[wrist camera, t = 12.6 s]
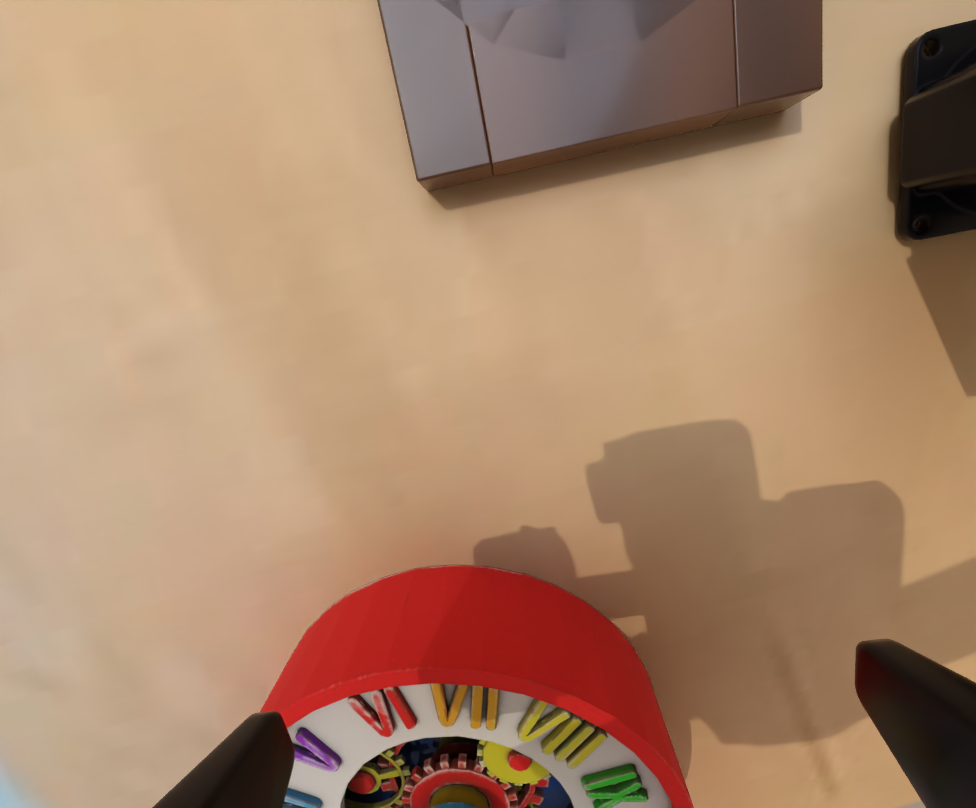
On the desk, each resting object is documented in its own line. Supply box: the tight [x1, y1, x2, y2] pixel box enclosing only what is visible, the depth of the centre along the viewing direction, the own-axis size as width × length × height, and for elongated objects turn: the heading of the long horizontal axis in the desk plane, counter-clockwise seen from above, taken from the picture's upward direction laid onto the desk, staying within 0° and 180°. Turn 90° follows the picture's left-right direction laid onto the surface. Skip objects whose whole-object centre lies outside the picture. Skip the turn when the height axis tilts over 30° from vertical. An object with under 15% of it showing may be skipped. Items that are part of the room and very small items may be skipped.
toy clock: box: [260, 565, 694, 808], centre depth 22 cm, size 20×6×20 cm
